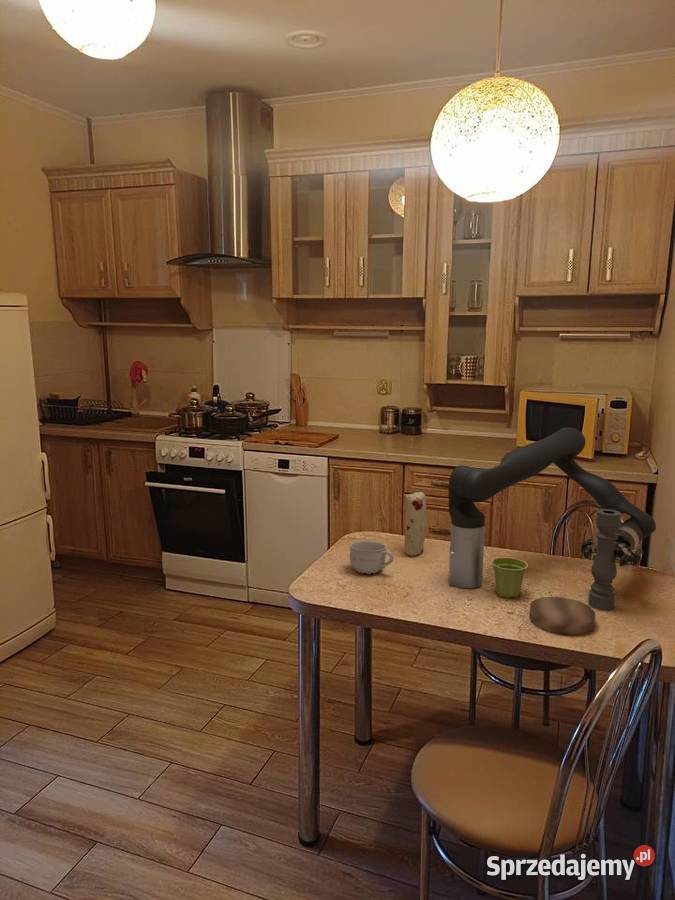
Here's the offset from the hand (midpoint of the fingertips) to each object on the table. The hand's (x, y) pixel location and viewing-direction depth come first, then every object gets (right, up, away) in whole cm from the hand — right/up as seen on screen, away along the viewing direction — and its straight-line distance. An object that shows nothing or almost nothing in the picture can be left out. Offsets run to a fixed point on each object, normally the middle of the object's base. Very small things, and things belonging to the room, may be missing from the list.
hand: (603, 558), depth 158 cm
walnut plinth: (-13, -14, -6) cm, 20 cm away
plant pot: (-21, -11, +11) cm, 26 cm away
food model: (-43, -6, +42) cm, 60 cm away
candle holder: (+1, -13, +3) cm, 13 cm away
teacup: (-57, -9, +26) cm, 64 cm away
